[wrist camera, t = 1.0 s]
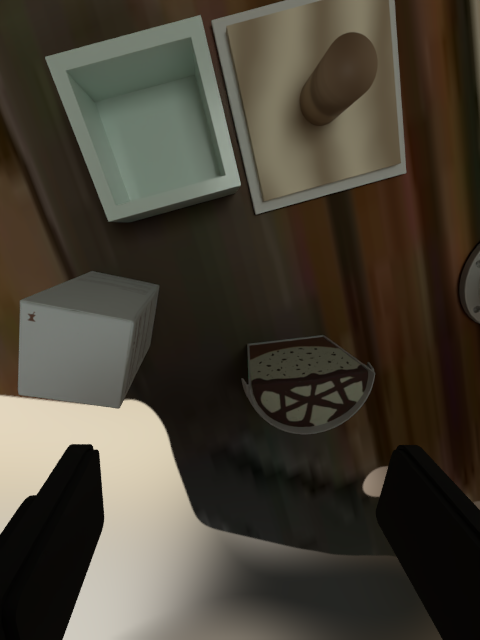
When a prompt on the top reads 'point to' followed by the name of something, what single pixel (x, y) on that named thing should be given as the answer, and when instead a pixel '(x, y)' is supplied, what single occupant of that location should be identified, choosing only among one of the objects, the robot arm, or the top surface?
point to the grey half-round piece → (306, 383)
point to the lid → (317, 93)
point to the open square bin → (148, 120)
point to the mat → (241, 127)
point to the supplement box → (85, 338)
